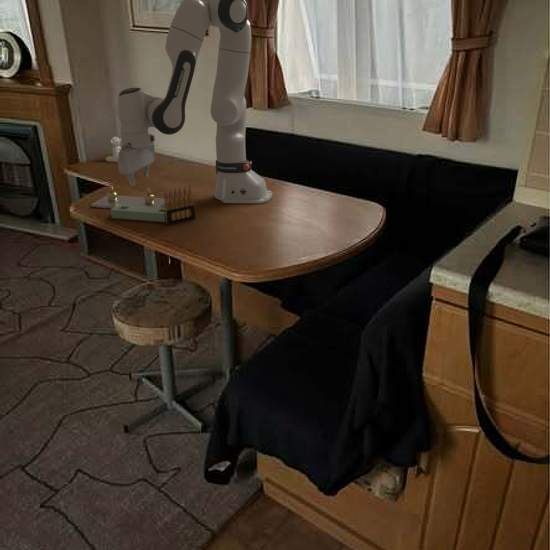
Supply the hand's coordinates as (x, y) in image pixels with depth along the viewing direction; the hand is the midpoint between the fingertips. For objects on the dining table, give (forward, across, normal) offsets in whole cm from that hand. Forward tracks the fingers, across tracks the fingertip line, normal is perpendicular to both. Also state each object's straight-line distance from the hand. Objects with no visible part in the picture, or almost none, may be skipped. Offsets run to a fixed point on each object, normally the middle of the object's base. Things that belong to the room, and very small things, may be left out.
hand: (139, 181), depth 183 cm
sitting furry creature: (+14, +74, +48) cm, 89 cm away
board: (+13, 0, 0) cm, 13 cm away
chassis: (+13, +12, +10) cm, 21 cm away
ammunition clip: (+13, -1, -14) cm, 19 cm away
